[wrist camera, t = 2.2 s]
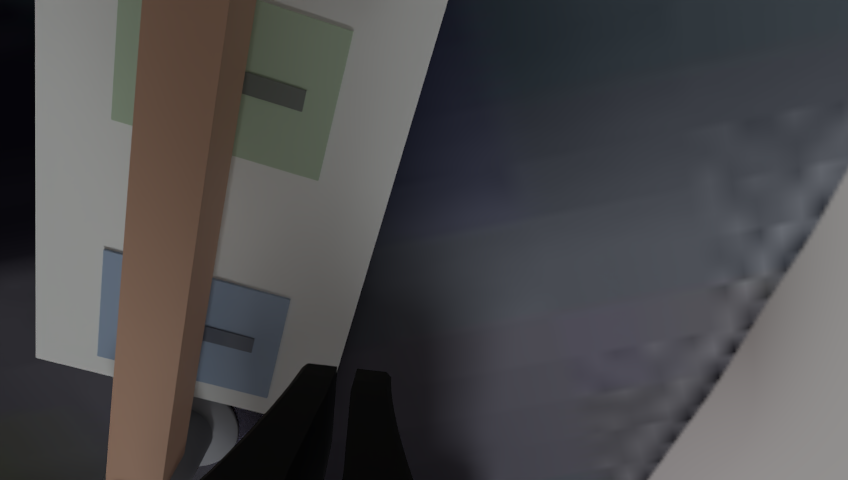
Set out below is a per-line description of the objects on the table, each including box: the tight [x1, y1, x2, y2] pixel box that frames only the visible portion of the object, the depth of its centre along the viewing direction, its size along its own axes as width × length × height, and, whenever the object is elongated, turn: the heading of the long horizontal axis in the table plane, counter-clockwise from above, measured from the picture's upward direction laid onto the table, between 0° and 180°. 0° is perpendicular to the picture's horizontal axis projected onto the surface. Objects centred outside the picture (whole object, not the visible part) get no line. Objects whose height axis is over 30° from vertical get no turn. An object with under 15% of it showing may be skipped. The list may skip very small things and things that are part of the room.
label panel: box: [35, 0, 448, 466], centre depth 19 cm, size 12×24×1 cm, turn 163°
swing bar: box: [103, 0, 257, 480], centre depth 17 cm, size 22×3×4 cm, turn 163°
